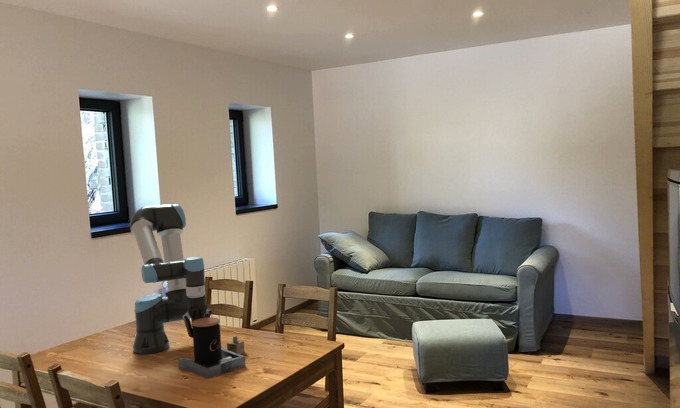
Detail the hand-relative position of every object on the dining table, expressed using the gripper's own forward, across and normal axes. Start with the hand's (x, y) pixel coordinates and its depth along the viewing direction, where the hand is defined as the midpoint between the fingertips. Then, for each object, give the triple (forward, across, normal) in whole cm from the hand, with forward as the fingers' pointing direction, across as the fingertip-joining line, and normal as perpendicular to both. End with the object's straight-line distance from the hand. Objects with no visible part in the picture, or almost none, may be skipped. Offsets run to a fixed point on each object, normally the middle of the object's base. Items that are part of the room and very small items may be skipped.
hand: (199, 352), depth 230 cm
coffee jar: (+4, 0, -7) cm, 8 cm away
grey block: (+4, +15, -4) cm, 16 cm away
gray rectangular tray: (+4, 0, -11) cm, 12 cm away
